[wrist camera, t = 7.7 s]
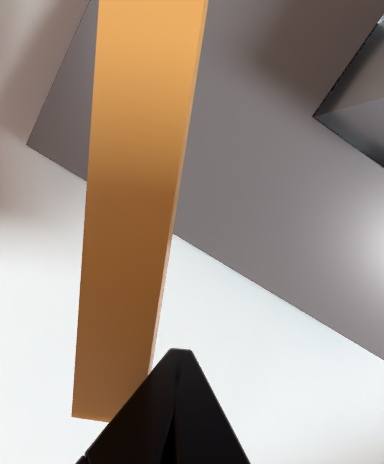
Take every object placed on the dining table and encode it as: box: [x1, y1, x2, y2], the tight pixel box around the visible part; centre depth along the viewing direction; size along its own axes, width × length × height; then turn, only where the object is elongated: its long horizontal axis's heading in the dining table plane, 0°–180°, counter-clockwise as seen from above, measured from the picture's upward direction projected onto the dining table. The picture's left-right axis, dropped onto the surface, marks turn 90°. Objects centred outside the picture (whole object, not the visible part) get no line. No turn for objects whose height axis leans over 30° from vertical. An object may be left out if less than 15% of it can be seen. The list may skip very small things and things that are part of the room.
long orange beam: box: [72, 0, 209, 422], centre depth 8 cm, size 3×14×6 cm, turn 171°
